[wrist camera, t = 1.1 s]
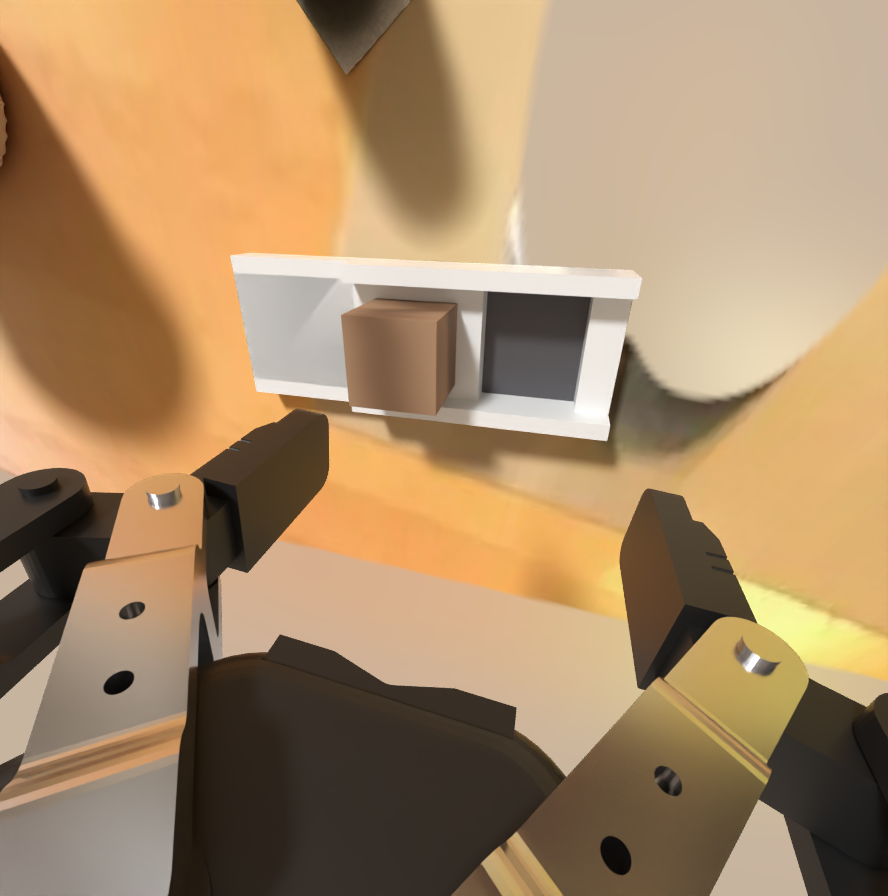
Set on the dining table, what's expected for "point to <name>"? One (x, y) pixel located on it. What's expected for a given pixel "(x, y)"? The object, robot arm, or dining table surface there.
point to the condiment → (351, 25)
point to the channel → (477, 339)
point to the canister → (2, 131)
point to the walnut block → (400, 354)
